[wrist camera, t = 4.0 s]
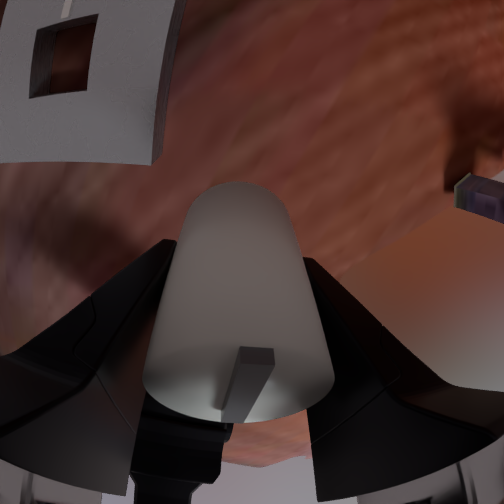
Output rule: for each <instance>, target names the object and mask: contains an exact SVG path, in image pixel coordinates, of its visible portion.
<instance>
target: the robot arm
mask: <svg viewBox="0 0 504 504" xmlns="http://www.w3.org/2000/svg"><path fill="white" fill-rule="evenodd" d="M176 245H177V242H176V241H175V240H169V239H163V240H161V241H160V242H159V243H157V244H156V245H154V246H153V247H152V248H150V249H149V250H148V251H146V252H145V253H144V254H142V255H141V256H140V257H138V258H137V259H136V260H134V261H133V262H132V263H130V264H129V265H128V266H126V267H125V268H124V269H122V270H121V271H120V272H119V273H117V274H116V275H115V276H113V277H112V278H111V279H110V280H108V281H107V282H106V283H105V284H103V285H102V286H101V287H100V288H98V289H97V290H96V291H95V292H93V293H92V294H91V297H90V296H88V297H87V298H86V299H85V300H84V301H82V302H81V303H80V304H79V305H77V306H76V307H75V308H74V309H72V310H71V311H70V312H69V313H67V314H66V315H65V316H63V317H62V318H61V319H59V320H58V321H57V322H55V323H54V324H52V325H51V326H50V327H48V328H47V329H45V330H44V331H43V332H41V333H40V334H38V335H37V336H36V337H34V338H33V339H31V340H30V341H29V342H27V343H26V344H25V345H23V346H22V347H20V348H19V349H17V350H16V351H14V352H12V353H10V354H7V355H3V356H0V504H101V499H102V493H107V494H114V495H120V496H126V490H127V484H128V478H129V475H130V477H131V478H132V480H133V481H134V483H135V491H134V504H191V497H192V493H193V492H194V491H195V490H196V489H197V488H198V487H199V486H200V485H202V484H203V483H205V484H213V483H214V482H215V480H216V479H217V478H218V476H219V475H220V472H221V459H222V450H223V445H224V443H226V442H227V441H228V440H229V439H230V436H231V434H232V430H233V424H234V423H224V422H217V421H210V420H204V419H199V418H195V417H191V416H188V415H185V414H182V413H179V412H177V411H174V410H172V409H170V408H168V407H166V406H164V405H163V404H161V403H159V402H158V401H157V400H155V399H154V398H153V397H152V396H151V395H150V394H149V393H148V392H147V390H146V389H145V387H144V385H143V381H142V375H143V370H144V365H145V360H146V356H147V351H148V347H149V343H150V338H151V334H152V330H153V326H154V322H155V318H156V314H157V310H158V307H159V303H160V299H161V296H162V292H163V288H164V285H165V281H166V278H167V274H168V271H169V268H170V264H171V261H172V258H173V255H174V251H175V248H176ZM302 258H303V261H304V264H305V268H306V271H307V274H308V278H309V281H310V285H311V288H312V291H313V295H314V298H315V302H316V306H317V309H318V313H319V316H320V320H321V324H322V328H323V331H324V335H325V339H326V343H327V347H328V351H329V355H330V359H331V363H332V367H333V371H334V376H335V381H334V384H333V387H332V388H331V390H330V391H329V393H328V394H327V395H326V396H325V397H324V398H323V399H321V400H320V401H319V402H317V403H316V404H314V405H312V406H311V407H309V408H307V409H306V410H307V417H308V425H309V432H310V440H311V450H312V458H313V466H314V475H315V485H316V494H317V501H318V502H324V501H332V500H338V499H344V498H350V497H355V496H357V502H358V504H504V392H499V391H489V390H480V389H472V388H464V387H458V386H455V385H452V384H450V383H448V382H446V381H444V380H443V379H441V378H440V377H439V376H438V375H437V374H436V373H435V372H433V371H432V370H431V369H430V368H429V367H428V366H427V365H425V364H424V363H423V362H422V361H421V360H420V359H419V358H417V357H416V356H415V355H414V354H413V353H412V352H411V351H410V350H409V349H407V348H406V347H405V346H404V345H403V344H402V343H401V342H400V341H399V340H398V339H397V338H396V337H395V336H394V335H393V334H391V333H390V332H389V330H388V329H386V327H385V326H382V324H381V323H380V322H379V321H378V320H377V319H376V318H375V317H374V316H373V315H372V314H371V313H370V312H369V311H368V310H367V309H366V308H365V307H364V306H363V305H362V304H361V303H360V302H359V301H358V300H357V299H356V298H355V297H354V296H353V295H351V294H350V293H349V292H348V291H347V290H346V289H345V288H344V287H343V286H342V285H341V284H340V283H339V282H338V281H337V280H336V279H335V278H334V277H332V276H331V275H330V274H329V273H328V272H327V271H326V270H325V269H324V268H323V267H322V266H321V265H320V264H318V263H317V262H316V261H315V260H314V259H313V258H307V257H302Z"/></svg>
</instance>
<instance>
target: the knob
mask: <svg viewBox="0 0 504 504" xmlns="http://www.w3.org/2000/svg"><path fill="white" fill-rule="evenodd" d="M142 381H143V385H144V387H145V389H146V390H147V392H148V393H149V394H150V395H151V396H152V397H153V398H154V399H155V400H157V401H158V402H159V403H161V404H163V405H164V406H166V407H168V408H170V409H172V410H174V411H177V412H179V413H182V414H185V415H188V416H191V417H195V418H199V419H204V420H210V421H217V422H224V423H247V422H259V421H267V420H272V419H277V418H281V417H285V416H289V415H292V414H295V413H297V412H300V411H302V410H304V409H307V408H309V407H311V406H312V405H314V404H316V403H317V402H319V401H320V400H321V399H323V398H324V397H325V396H326V395H327V394H328V393H329V391H330V390H331V388H332V387H333V384H334V381H335V376H334V371H333V367H332V363H331V359H330V355H329V351H328V347H327V343H326V339H325V335H324V331H323V328H322V324H321V320H320V316H319V313H318V309H317V306H316V302H315V298H314V295H313V291H312V288H311V285H310V281H309V278H308V274H307V271H306V268H305V264H304V261H303V258H302V254H301V251H300V248H299V245H298V241H297V238H296V235H295V232H294V229H293V226H292V222H291V219H290V216H289V214H288V211H287V209H286V207H285V206H284V204H283V203H282V201H281V200H280V199H279V198H278V197H277V196H276V195H275V194H274V193H272V192H271V191H269V190H268V189H266V188H264V187H262V186H259V185H256V184H253V183H248V182H228V183H223V184H219V185H216V186H214V187H212V188H210V189H208V190H206V191H205V192H203V193H202V194H201V195H199V196H198V197H197V198H196V200H195V201H194V202H193V203H192V205H191V206H190V208H189V210H188V212H187V215H186V218H185V220H184V223H183V226H182V229H181V233H180V236H179V239H178V242H177V245H176V248H175V251H174V255H173V258H172V261H171V264H170V268H169V271H168V274H167V278H166V281H165V285H164V288H163V292H162V296H161V299H160V303H159V307H158V310H157V314H156V318H155V322H154V326H153V330H152V334H151V338H150V343H149V347H148V351H147V356H146V360H145V365H144V370H143V375H142Z"/></svg>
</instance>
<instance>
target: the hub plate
mask: <svg viewBox="0 0 504 504" xmlns="http://www.w3.org/2000/svg"><path fill="white" fill-rule="evenodd" d="M186 1H187V0H8V1H7V5H6V8H5V12H4V16H3V20H2V24H1V28H0V163H12V162H43V161H73V162H106V163H125V164H139V165H152V164H153V163H154V162H155V161H156V160H157V159H158V158H159V157H160V156H161V154H162V149H163V137H164V127H165V117H166V109H167V101H168V93H169V86H170V79H171V73H172V67H173V61H174V56H175V50H176V45H177V40H178V35H179V30H180V26H181V21H182V17H183V13H184V9H185V5H186ZM96 22H97V25H96V29H95V34H94V40H93V46H92V52H91V59H90V66H89V75H88V85H87V89H83V90H73V91H65V92H58V93H51V94H50V79H51V69H52V61H53V53H54V47H55V41H56V35H57V31H60V30H64V29H68V28H72V27H76V26H81V25H85V24H90V23H96Z"/></svg>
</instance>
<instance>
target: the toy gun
mask: <svg viewBox="0 0 504 504" xmlns="http://www.w3.org/2000/svg"><path fill="white" fill-rule="evenodd" d="M454 207H457V208H460V209H463V210H466V211H469V212H472V213H475V214H478V215H481V216H484V217H487V218H489V219H492V220H495V221H498V222H500V223H503V224H504V183H502V182H498V181H495V180H491V179H488V178H484V177H480V176H476V175H472V174H471V173H468V174H467V175H466V176H465V177H464V178H463V179H461V180H460V181H459V182H458V183H457V184H456V185H455V186H454Z"/></svg>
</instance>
